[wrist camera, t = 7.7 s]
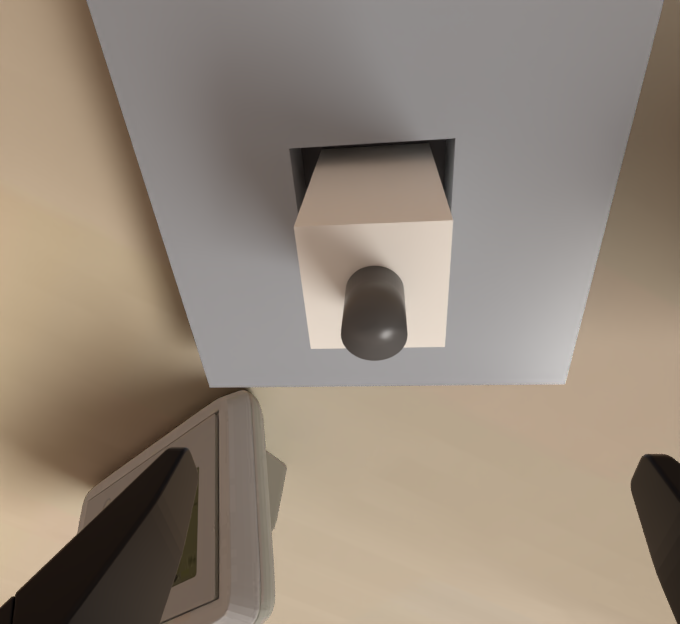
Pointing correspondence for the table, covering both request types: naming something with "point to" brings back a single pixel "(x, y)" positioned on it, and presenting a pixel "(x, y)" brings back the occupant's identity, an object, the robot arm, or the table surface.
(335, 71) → the socket plate
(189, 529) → the digital clock
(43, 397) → the table surface
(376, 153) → the plug
